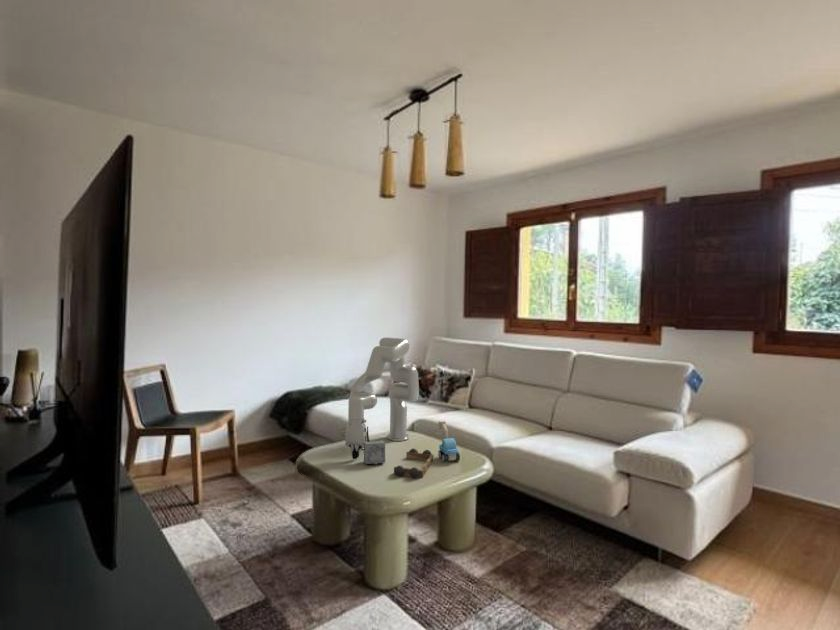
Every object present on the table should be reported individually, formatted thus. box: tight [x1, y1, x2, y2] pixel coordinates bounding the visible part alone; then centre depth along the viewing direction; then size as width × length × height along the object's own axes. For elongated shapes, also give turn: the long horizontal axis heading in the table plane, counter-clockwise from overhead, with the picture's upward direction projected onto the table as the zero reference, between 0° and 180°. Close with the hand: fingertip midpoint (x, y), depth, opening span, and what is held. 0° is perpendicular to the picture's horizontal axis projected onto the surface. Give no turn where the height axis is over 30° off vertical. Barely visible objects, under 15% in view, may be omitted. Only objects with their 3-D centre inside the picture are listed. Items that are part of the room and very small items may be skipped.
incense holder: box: [363, 440, 386, 466], centre depth 222 cm, size 10×8×10 cm
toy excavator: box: [437, 420, 461, 463], centre depth 231 cm, size 9×17×17 cm, turn 18°
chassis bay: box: [393, 448, 434, 479], centre depth 218 cm, size 26×14×4 cm, turn 166°
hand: (355, 458), depth 225 cm, fingers closed
